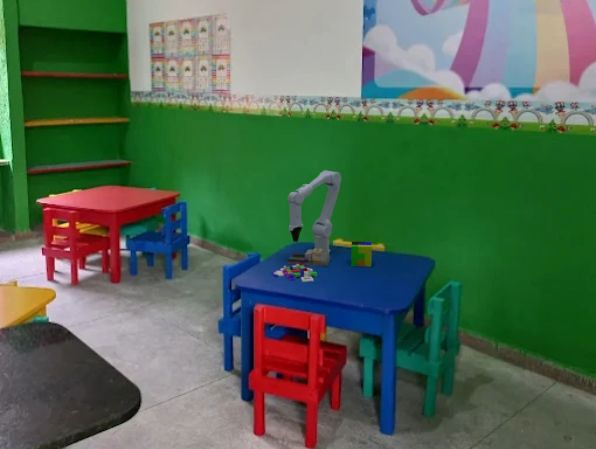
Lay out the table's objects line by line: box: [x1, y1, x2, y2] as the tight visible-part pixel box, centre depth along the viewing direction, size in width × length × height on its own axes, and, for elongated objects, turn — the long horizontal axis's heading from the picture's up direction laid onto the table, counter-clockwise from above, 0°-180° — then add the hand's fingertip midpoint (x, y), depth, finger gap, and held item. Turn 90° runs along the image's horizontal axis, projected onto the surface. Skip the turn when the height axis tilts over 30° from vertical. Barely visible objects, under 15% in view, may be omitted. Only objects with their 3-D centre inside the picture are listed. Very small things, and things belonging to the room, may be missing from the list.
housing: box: [312, 248, 323, 261], centre depth 312 cm, size 4×4×5 cm
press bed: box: [286, 250, 332, 268], centre depth 314 cm, size 12×20×6 cm, turn 77°
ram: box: [304, 249, 313, 261], centre depth 313 cm, size 8×3×4 cm, turn 167°
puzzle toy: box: [350, 241, 373, 267], centre depth 311 cm, size 10×10×10 cm
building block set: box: [271, 263, 318, 283], centre depth 295 cm, size 25×20×4 cm
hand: (295, 241), depth 318 cm, fingers closed
